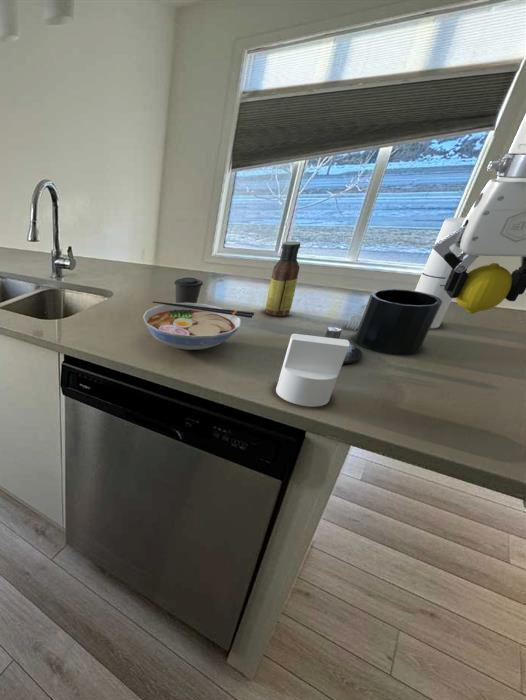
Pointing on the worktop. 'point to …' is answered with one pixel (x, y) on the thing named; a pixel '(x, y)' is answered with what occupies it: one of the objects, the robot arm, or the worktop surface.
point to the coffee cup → (187, 290)
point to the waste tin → (397, 321)
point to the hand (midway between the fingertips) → (479, 295)
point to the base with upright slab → (311, 369)
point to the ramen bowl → (192, 324)
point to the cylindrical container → (439, 270)
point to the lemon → (485, 288)
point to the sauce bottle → (283, 281)
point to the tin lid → (352, 352)
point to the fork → (355, 319)
